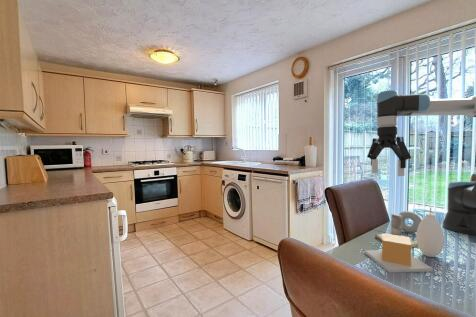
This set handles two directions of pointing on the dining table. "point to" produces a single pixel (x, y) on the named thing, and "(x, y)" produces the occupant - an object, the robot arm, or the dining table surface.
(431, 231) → the white egg shape
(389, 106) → the robot arm
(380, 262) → the mat
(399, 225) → the post stand
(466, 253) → the dining table surface
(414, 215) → the donut
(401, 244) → the orange block
